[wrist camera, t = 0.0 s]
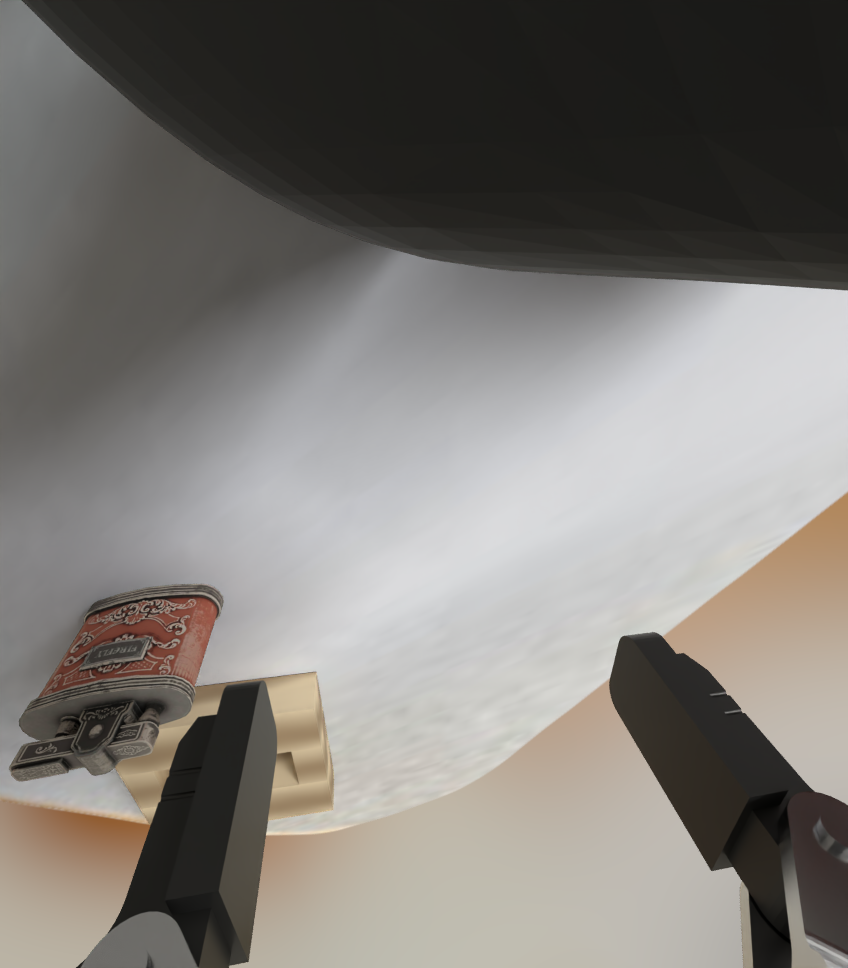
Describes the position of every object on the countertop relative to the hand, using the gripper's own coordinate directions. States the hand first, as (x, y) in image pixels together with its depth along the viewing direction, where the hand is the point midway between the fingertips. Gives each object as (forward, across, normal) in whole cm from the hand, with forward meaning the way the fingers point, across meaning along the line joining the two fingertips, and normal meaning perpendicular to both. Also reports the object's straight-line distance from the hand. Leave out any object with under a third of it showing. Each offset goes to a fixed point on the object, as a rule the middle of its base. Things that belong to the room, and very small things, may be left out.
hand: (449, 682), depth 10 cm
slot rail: (+19, +13, +26) cm, 35 cm away
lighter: (+18, +15, +11) cm, 26 cm away
